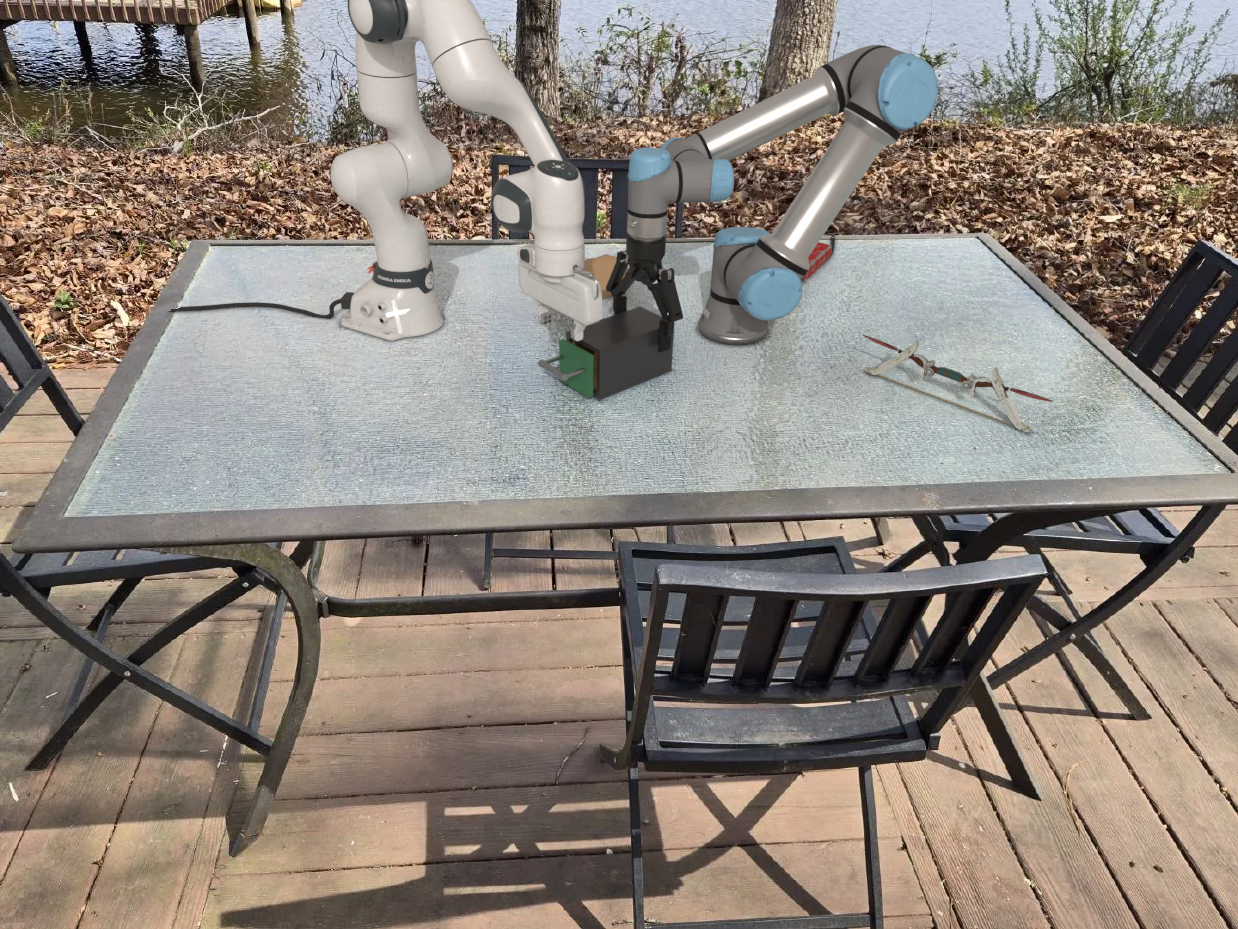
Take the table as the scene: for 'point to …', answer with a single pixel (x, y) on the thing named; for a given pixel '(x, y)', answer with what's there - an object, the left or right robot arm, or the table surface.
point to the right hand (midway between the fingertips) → (641, 338)
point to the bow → (967, 383)
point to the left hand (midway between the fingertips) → (560, 330)
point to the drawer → (574, 367)
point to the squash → (602, 271)
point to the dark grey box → (626, 350)
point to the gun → (817, 258)
